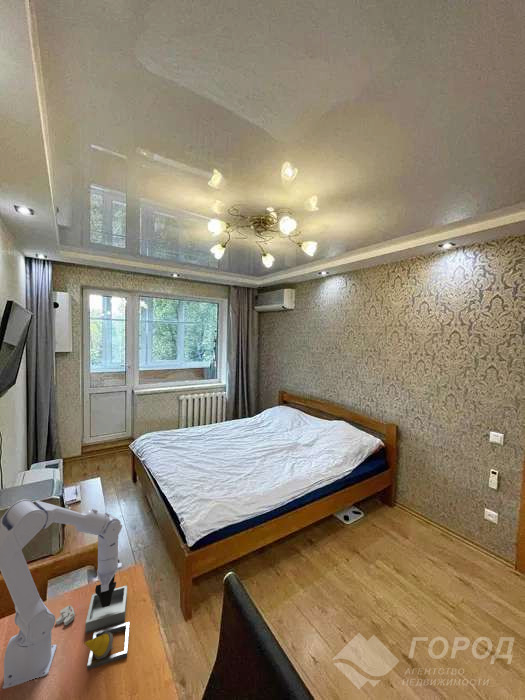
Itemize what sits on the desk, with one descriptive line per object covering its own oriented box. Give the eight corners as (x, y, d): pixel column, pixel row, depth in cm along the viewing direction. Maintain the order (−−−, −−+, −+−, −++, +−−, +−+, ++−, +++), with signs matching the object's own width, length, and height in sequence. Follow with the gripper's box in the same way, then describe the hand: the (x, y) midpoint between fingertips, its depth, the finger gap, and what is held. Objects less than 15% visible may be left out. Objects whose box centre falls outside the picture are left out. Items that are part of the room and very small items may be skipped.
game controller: (51, 622, 90) (51, 614, 90) (87, 594, 100) (87, 586, 100) (63, 630, 88) (63, 621, 87) (98, 600, 98) (98, 592, 98)
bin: (85, 634, 86) (85, 622, 86) (92, 604, 96) (92, 594, 96) (124, 622, 90) (124, 611, 90) (127, 595, 100) (127, 585, 100)
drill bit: (112, 663, 80) (83, 660, 74) (101, 656, 82) (72, 653, 77) (123, 636, 83) (96, 631, 78) (112, 631, 86) (85, 626, 80)
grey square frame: (87, 671, 77) (87, 666, 77) (93, 637, 86) (93, 632, 86) (127, 657, 80) (127, 652, 80) (129, 626, 89) (129, 621, 89)
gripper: (119, 567, 88) (119, 611, 88) (123, 537, 101) (123, 575, 101) (93, 573, 85) (92, 618, 85) (100, 542, 99) (100, 581, 99)
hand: (107, 595), depth 93 cm, fingers open, 7 cm apart
